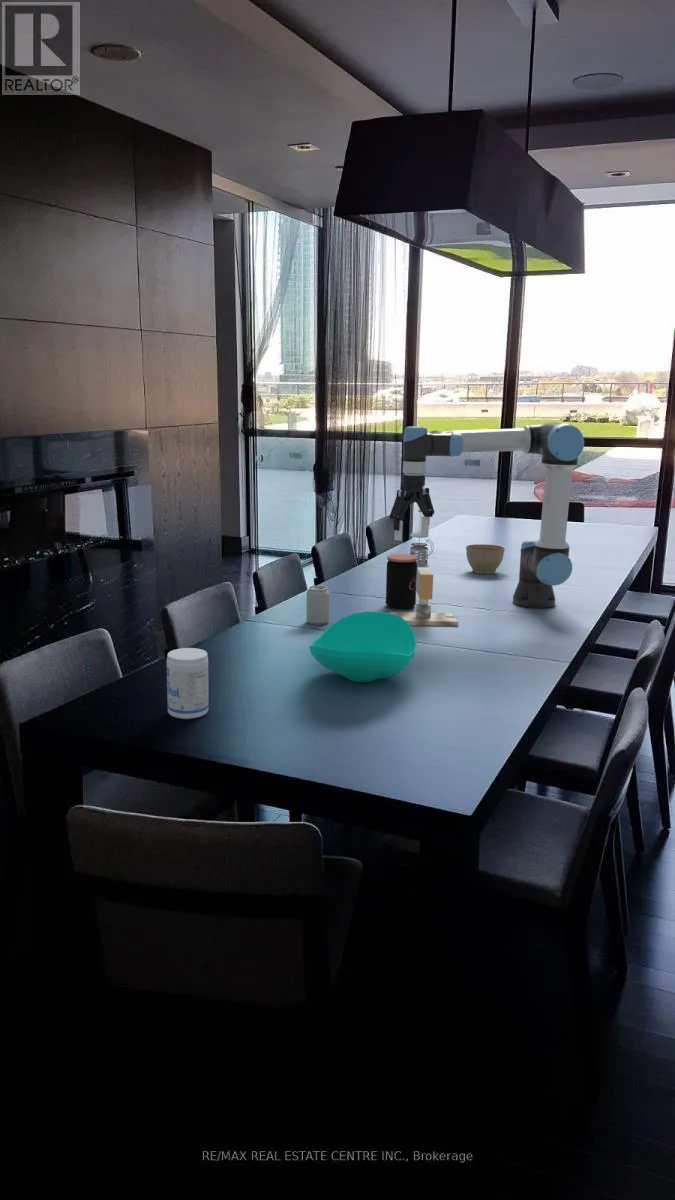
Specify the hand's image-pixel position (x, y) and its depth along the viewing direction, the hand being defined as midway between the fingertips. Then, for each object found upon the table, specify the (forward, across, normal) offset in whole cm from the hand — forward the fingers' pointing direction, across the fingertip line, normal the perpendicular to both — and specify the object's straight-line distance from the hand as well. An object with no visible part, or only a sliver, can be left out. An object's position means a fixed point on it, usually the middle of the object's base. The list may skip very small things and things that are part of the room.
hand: (411, 538), depth 288 cm
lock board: (+26, +3, +9) cm, 28 cm away
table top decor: (+27, +60, +35) cm, 74 cm away
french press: (+27, -67, -51) cm, 88 cm away
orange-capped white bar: (+21, +3, +9) cm, 23 cm away
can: (+27, +30, -13) cm, 43 cm away
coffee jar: (+27, -6, -9) cm, 29 cm away
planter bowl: (+27, -78, -25) cm, 86 cm away
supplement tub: (+27, +108, +25) cm, 114 cm away
